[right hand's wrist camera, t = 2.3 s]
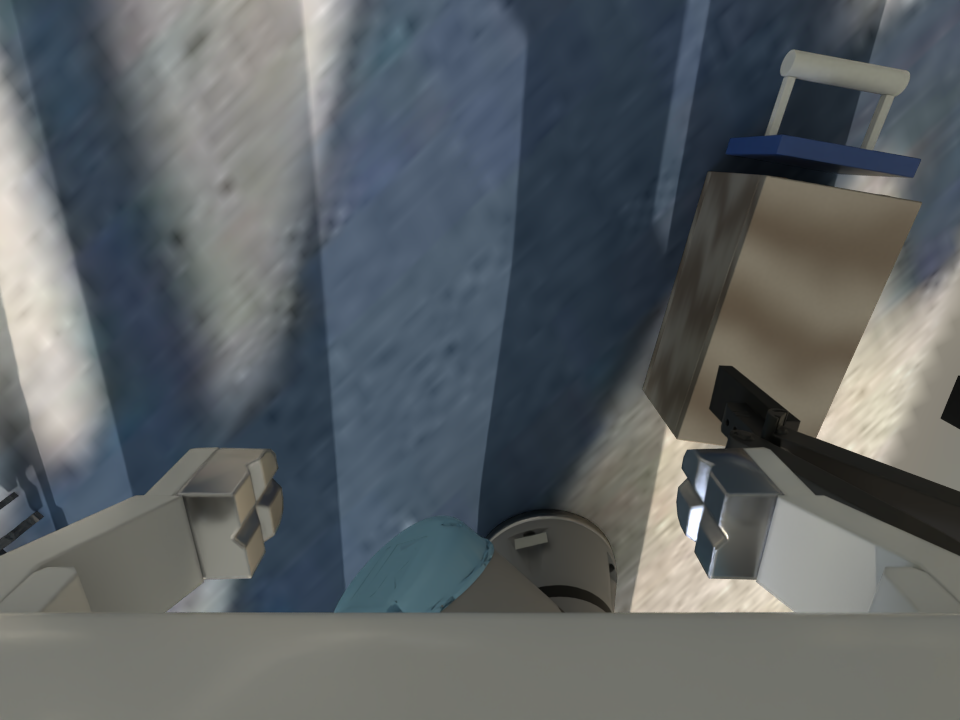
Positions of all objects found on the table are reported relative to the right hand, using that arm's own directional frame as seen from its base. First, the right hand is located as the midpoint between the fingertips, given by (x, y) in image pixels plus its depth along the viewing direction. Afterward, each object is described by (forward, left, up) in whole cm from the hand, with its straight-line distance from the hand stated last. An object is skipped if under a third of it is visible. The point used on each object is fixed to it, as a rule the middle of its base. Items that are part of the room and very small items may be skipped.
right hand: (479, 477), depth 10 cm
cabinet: (+4, +23, -36) cm, 43 cm away
